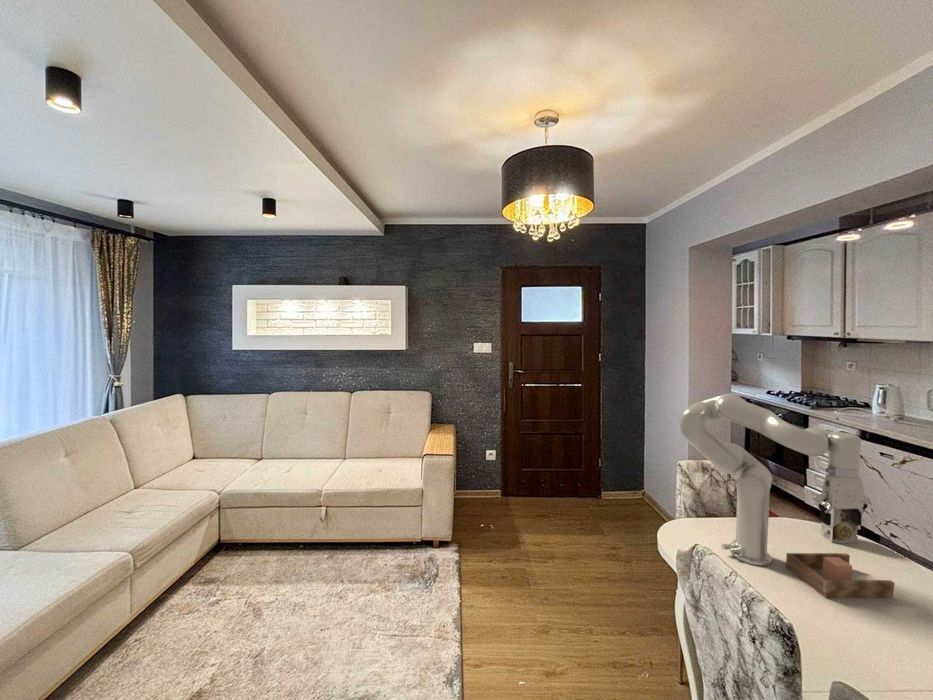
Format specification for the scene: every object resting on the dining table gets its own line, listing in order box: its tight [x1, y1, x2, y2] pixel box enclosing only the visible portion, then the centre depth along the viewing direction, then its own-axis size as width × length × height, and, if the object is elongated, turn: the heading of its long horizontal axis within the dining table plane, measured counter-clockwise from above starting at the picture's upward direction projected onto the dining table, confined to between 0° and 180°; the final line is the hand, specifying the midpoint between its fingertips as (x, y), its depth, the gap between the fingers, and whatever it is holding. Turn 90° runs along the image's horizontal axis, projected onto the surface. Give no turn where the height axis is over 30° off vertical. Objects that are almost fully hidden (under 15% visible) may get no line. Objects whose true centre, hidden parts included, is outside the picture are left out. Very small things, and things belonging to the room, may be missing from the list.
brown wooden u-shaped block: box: [785, 552, 895, 599], centre depth 138 cm, size 21×16×5 cm
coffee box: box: [820, 501, 859, 544], centre depth 164 cm, size 9×6×16 cm
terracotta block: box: [821, 557, 853, 580], centre depth 138 cm, size 5×5×7 cm
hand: (840, 523), depth 137 cm, fingers open, 9 cm apart
